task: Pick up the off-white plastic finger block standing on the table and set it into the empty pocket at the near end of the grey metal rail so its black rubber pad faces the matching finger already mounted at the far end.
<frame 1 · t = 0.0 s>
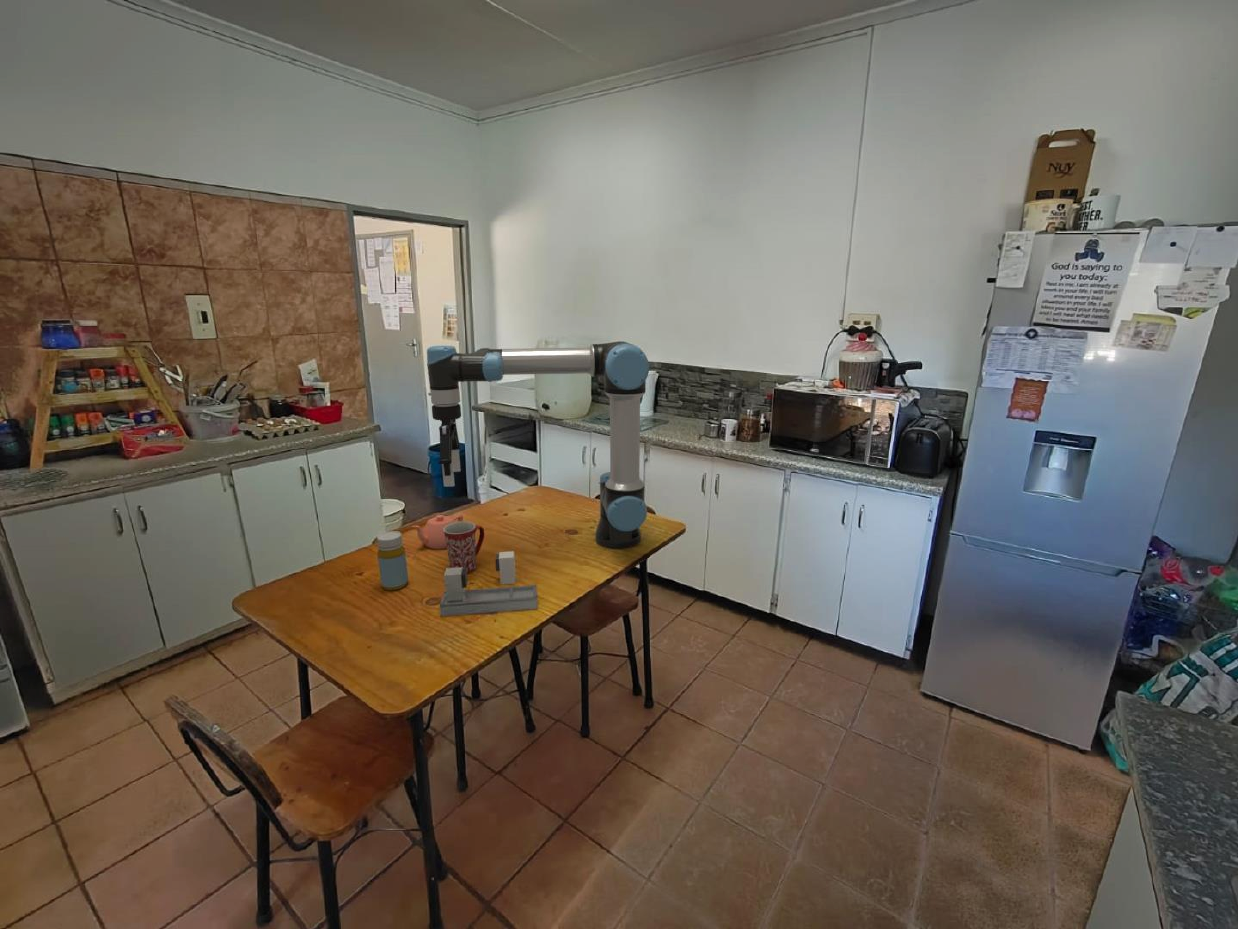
hand: (452, 478, 157), 28 cm above the table, fingers open, 13 cm apart
bottle: (395, 585, 155), on the table
finger: (508, 580, 158), on the table
teapot: (440, 544, 182), on the table
rail: (490, 605, 145), on the table
mug: (468, 568, 166), on the table
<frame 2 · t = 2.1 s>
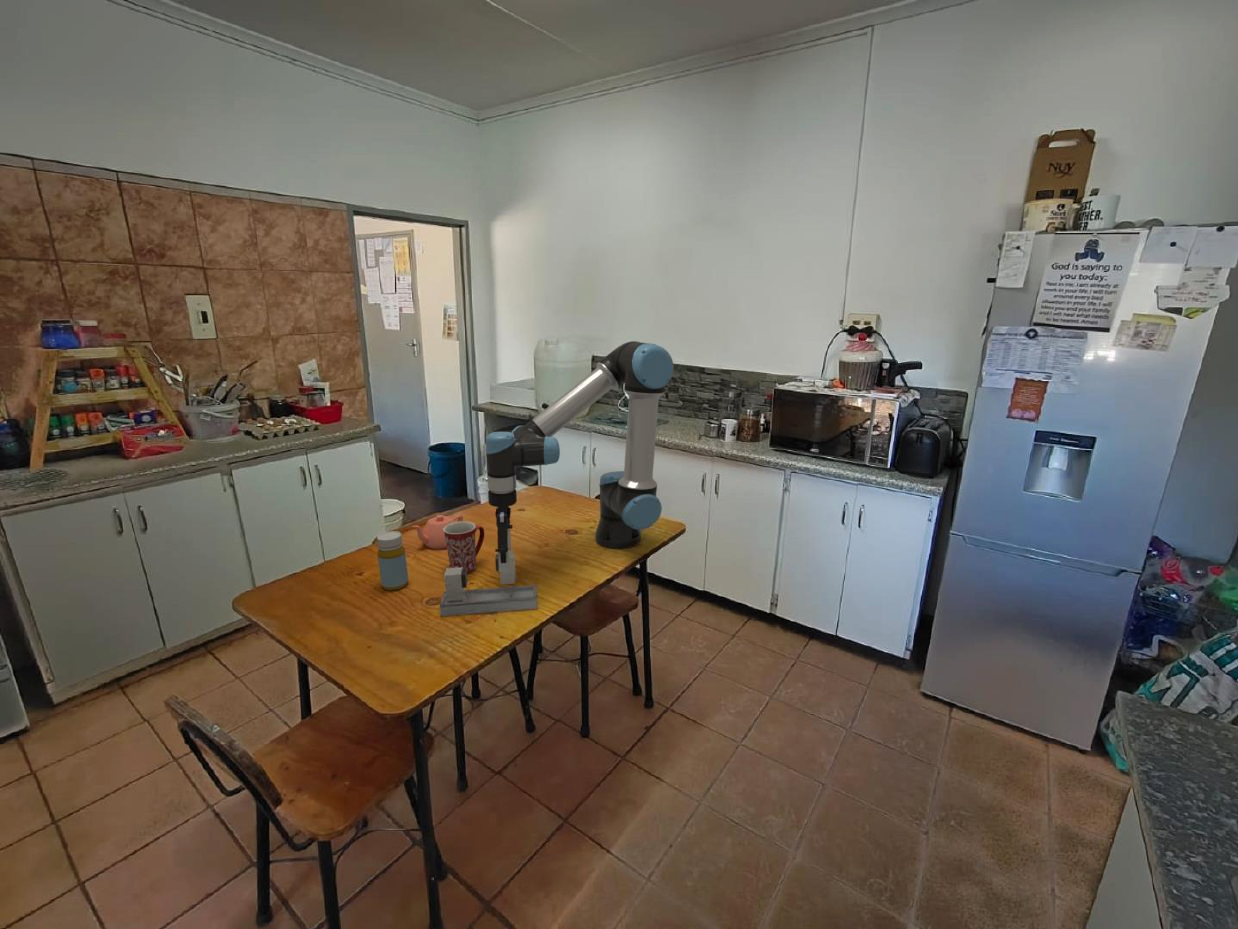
hand: (505, 561, 156), 6 cm above the table, fingers open, 13 cm apart
nothing on the table moved.
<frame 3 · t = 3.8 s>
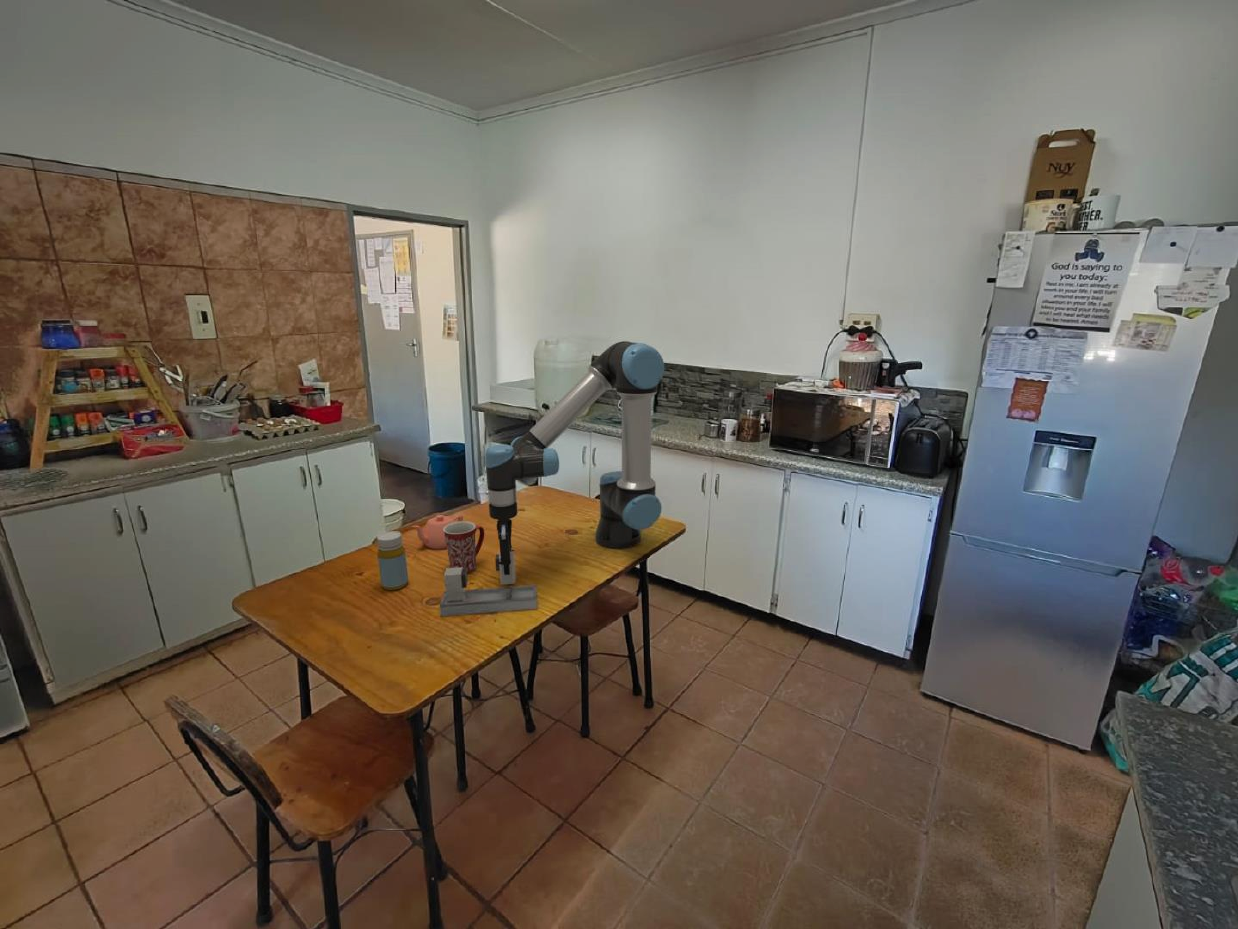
hand: (508, 579, 158), 0 cm above the table, fingers closed on finger, 4 cm apart
finger: (508, 580, 158), on the table, touching gripper
everything else where it was.
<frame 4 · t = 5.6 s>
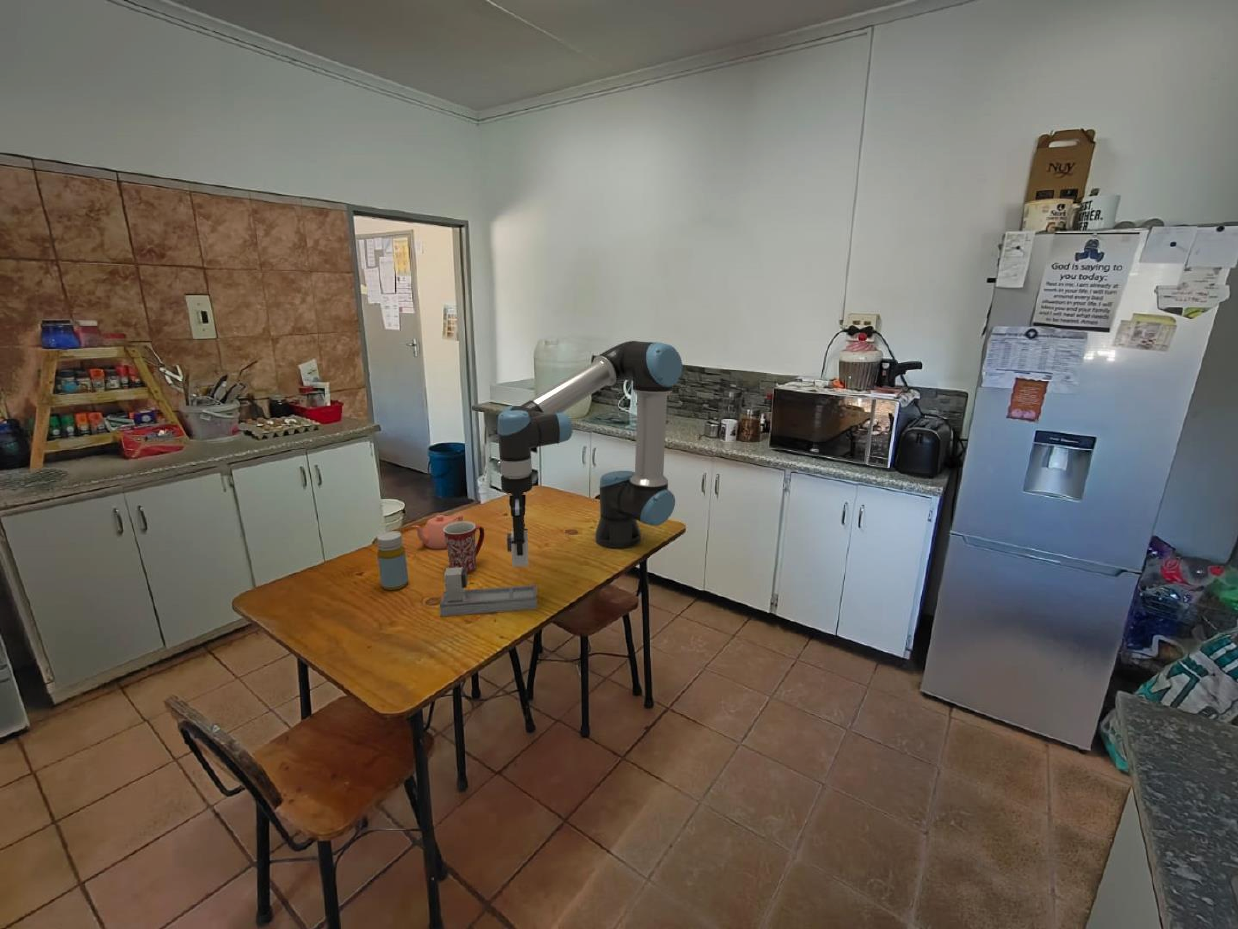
hand: (520, 561, 143), 12 cm above the table, fingers closed on finger, 4 cm apart
finger: (520, 562, 143), point 12 cm above the table, touching gripper
everything else where it was.
when the fingers open (4 cm above the table, at t = 7.2 s): finger stays where it is, resting on rail.
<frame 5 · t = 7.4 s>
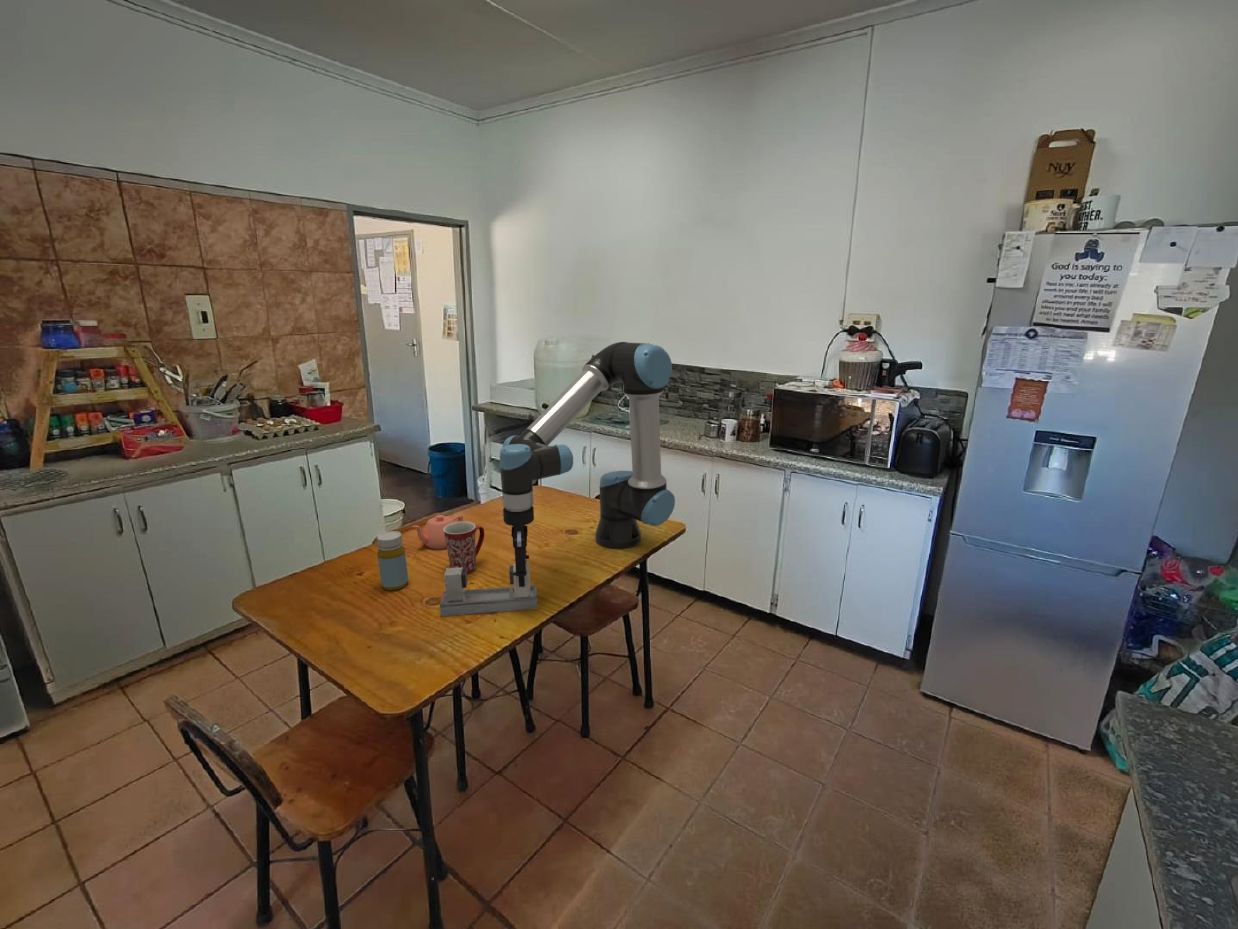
hand: (522, 589, 145), 4 cm above the table, fingers open, 6 cm apart
finger: (522, 594, 145), point 2 cm above the table, touching rail
everything else where it was.
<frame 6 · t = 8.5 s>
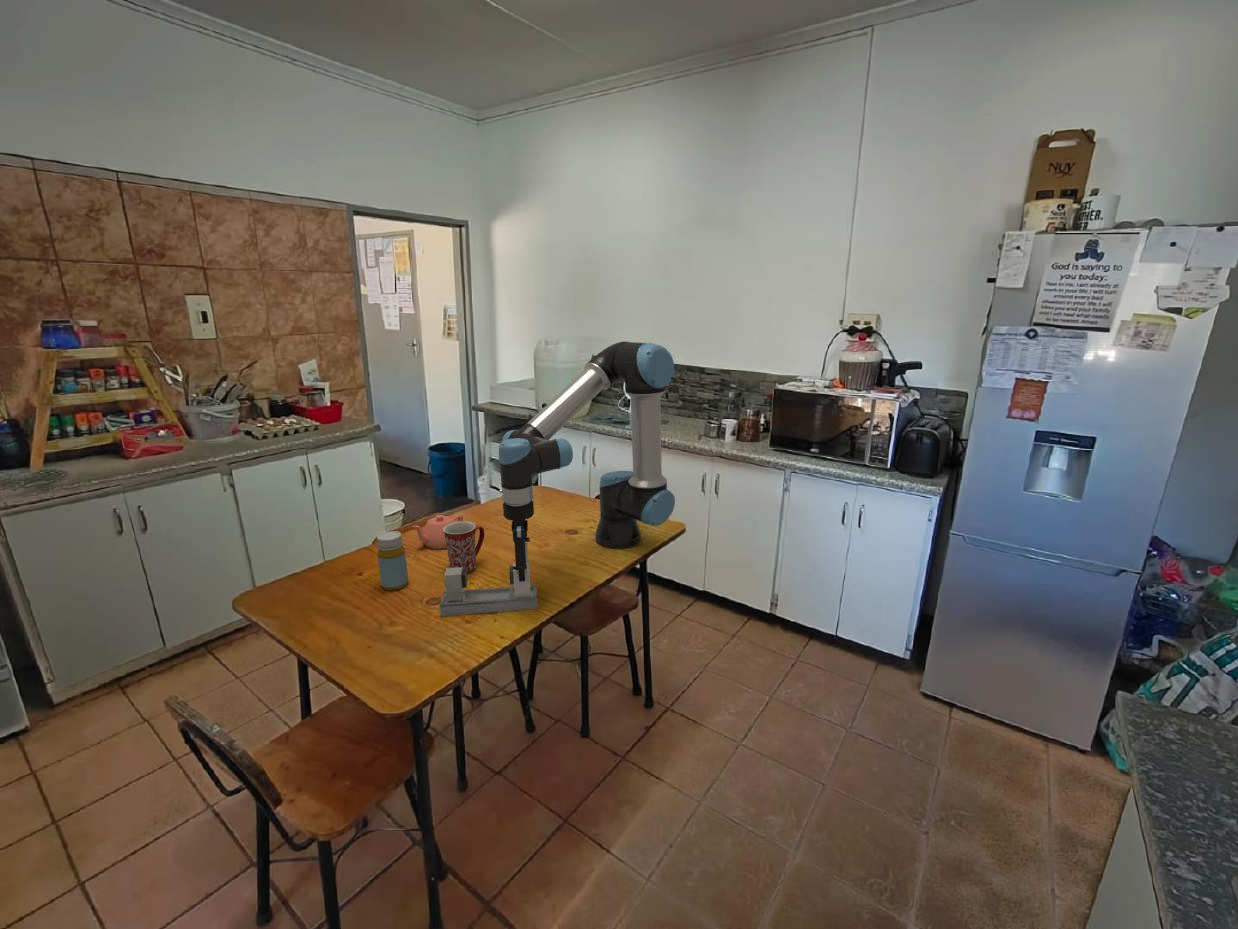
hand: (523, 577, 144), 7 cm above the table, fingers open, 13 cm apart
nothing on the table moved.
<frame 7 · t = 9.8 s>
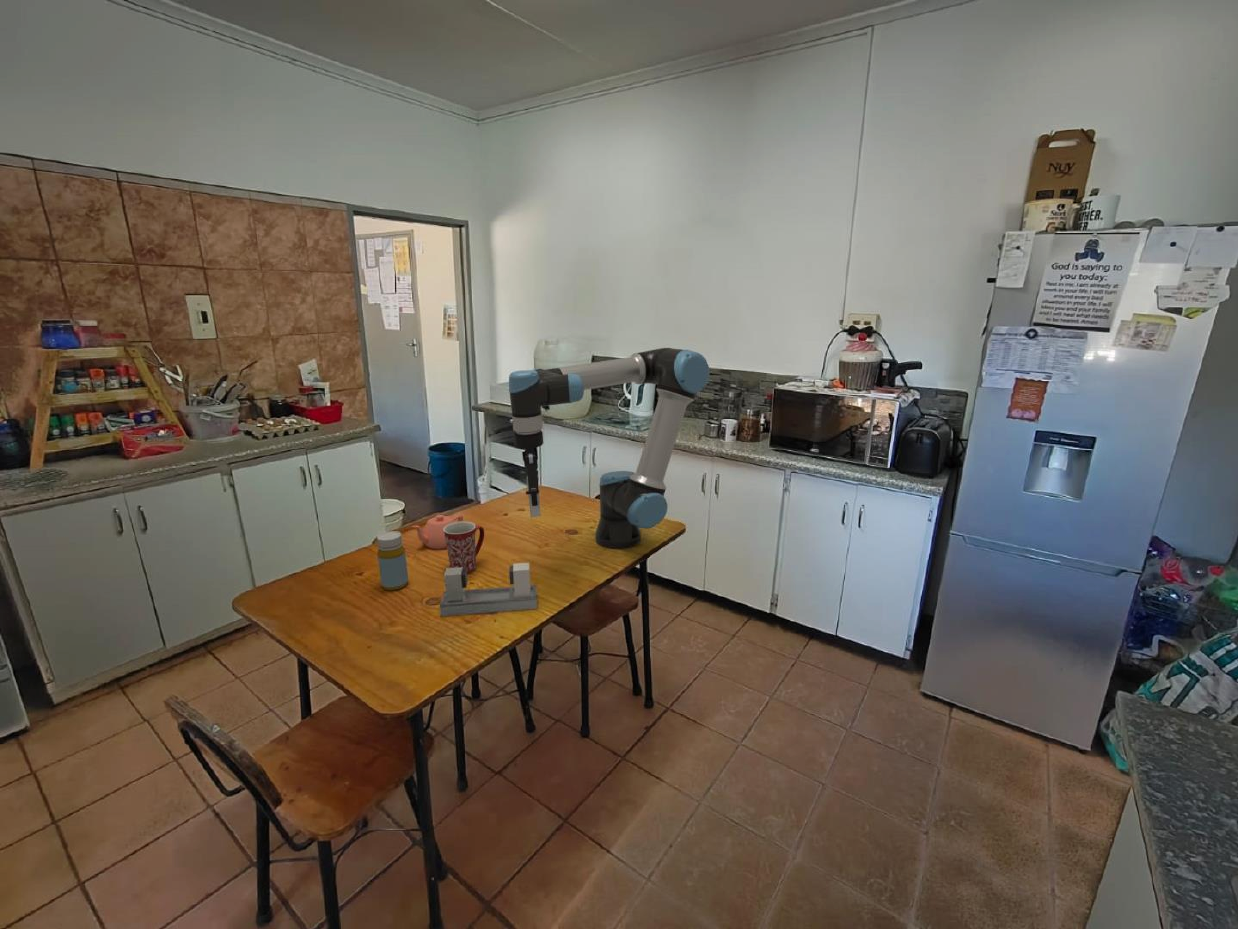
hand: (534, 506, 151), 22 cm above the table, fingers open, 13 cm apart
nothing on the table moved.
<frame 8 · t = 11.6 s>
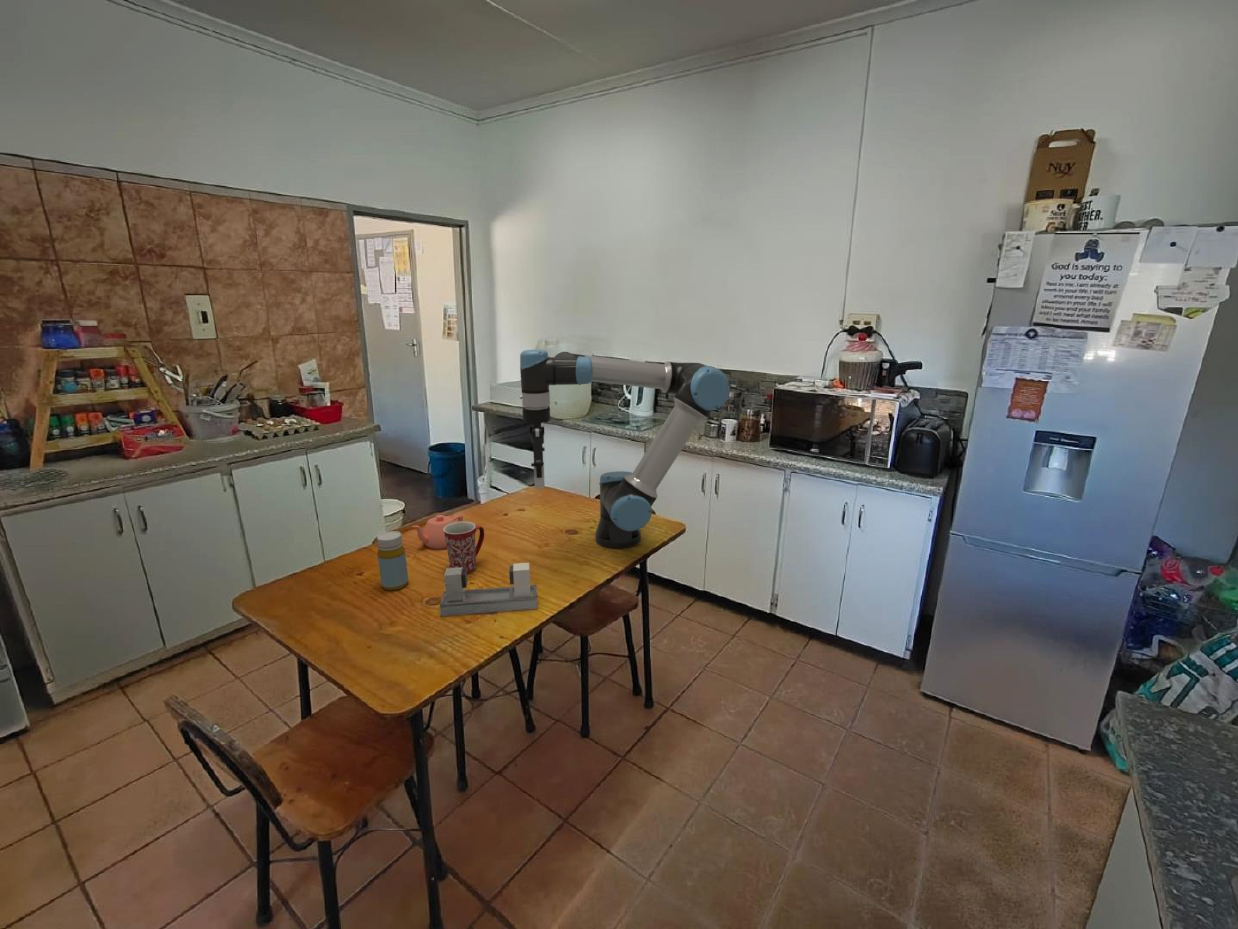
hand: (539, 480, 159), 27 cm above the table, fingers open, 13 cm apart
nothing on the table moved.
at the end: finger 0.1 cm from the target spot on the rail, point 2.5 cm above the rail's base; finger tilted 0°; the gripper is holding nothing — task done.
